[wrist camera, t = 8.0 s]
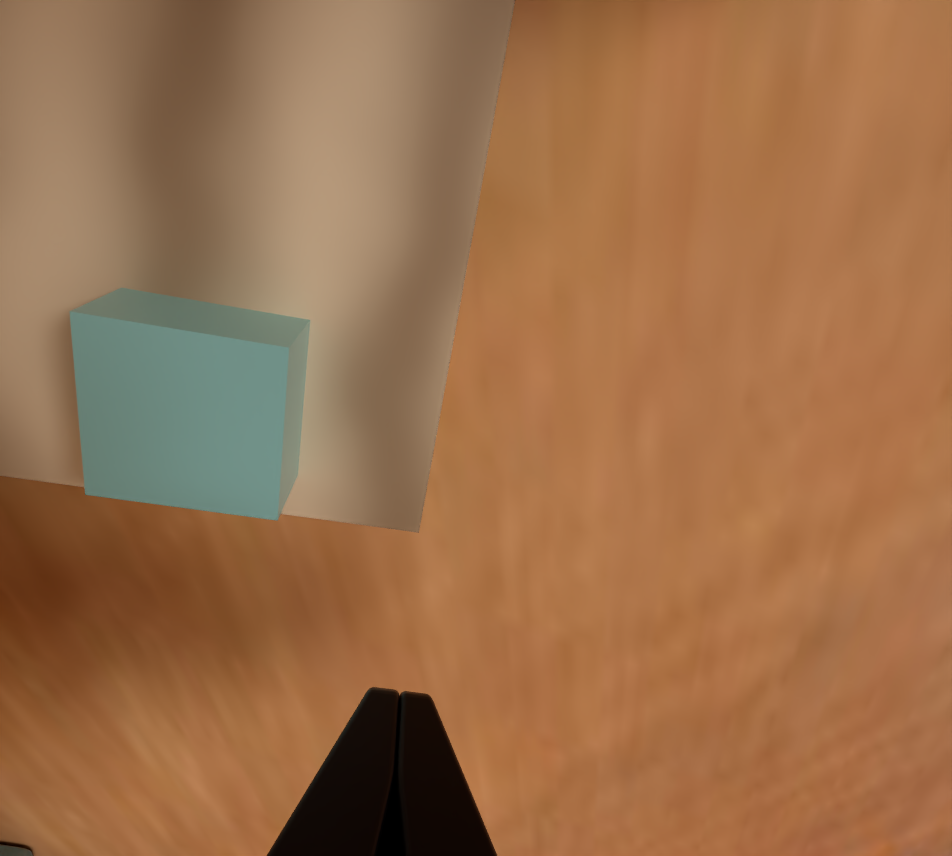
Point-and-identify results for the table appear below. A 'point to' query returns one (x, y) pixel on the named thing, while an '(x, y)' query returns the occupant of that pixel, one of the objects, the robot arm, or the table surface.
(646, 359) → the table surface
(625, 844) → the table surface
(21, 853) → the flower pot
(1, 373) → the bench plate
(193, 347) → the tile
